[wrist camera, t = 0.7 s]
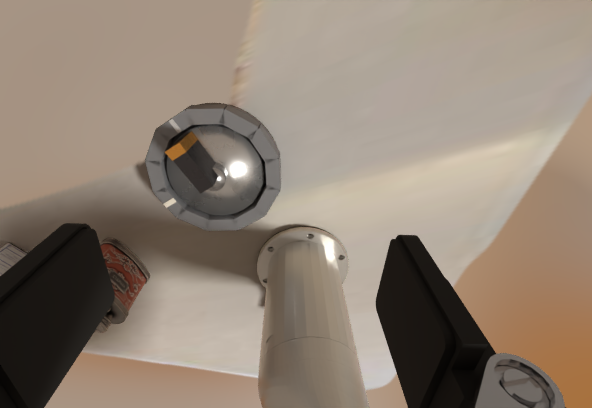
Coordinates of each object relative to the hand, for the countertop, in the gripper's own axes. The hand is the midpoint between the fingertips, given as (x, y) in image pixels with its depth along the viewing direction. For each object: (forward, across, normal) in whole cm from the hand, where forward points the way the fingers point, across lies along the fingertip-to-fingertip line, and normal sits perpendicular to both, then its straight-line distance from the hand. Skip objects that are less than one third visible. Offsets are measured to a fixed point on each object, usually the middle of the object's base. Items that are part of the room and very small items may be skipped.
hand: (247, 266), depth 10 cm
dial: (+24, +6, +7) cm, 26 cm away
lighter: (+26, +20, +22) cm, 39 cm away
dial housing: (+26, +6, +7) cm, 27 cm away
